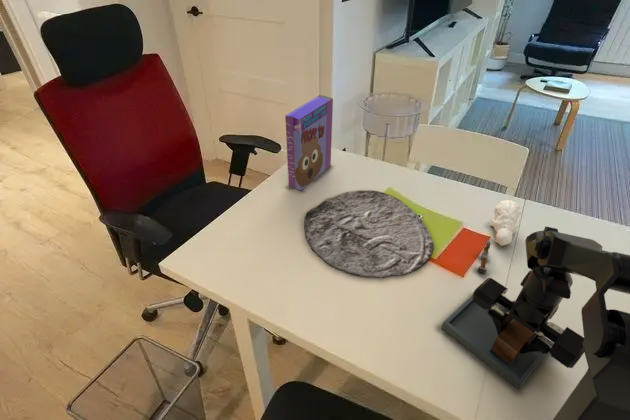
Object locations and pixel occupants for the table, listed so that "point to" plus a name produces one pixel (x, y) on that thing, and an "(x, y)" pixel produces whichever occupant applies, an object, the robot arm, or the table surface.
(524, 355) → the tray
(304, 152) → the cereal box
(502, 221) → the white plaster bust
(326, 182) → the table surface
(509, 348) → the brown rectangular block
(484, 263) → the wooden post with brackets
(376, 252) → the ancient coin
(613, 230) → the table surface
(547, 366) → the table surface
